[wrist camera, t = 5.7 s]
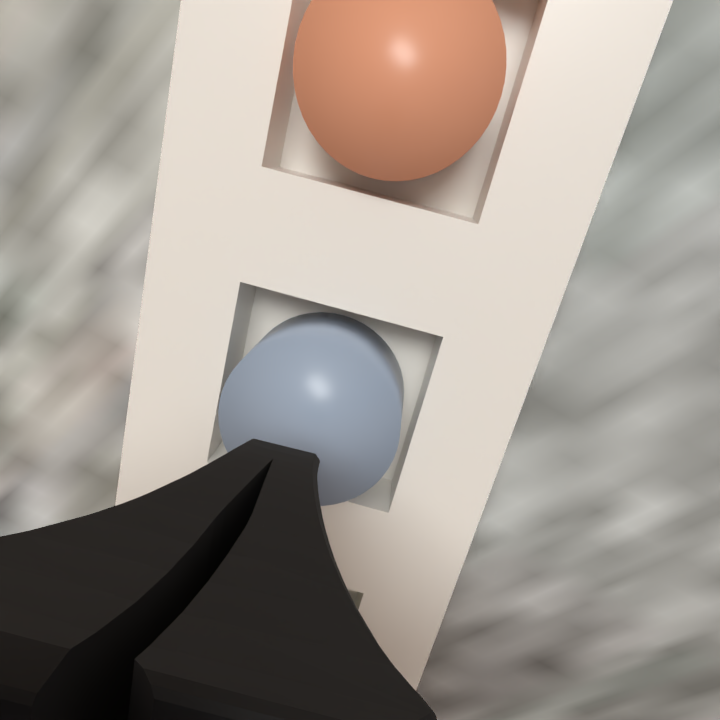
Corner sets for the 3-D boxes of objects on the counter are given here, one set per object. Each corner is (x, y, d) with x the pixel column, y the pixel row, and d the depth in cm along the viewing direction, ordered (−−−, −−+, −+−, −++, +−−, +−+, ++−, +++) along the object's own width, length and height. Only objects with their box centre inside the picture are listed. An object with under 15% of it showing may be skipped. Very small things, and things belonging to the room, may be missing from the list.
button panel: (651, -35, 14) (703, -82, 11) (390, 700, 22) (385, 773, 19) (248, -137, 14) (207, -207, 12) (131, 625, 22) (91, 688, 19)
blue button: (423, 336, 16) (422, 365, 13) (381, 478, 17) (373, 526, 15) (263, 293, 16) (235, 314, 13) (234, 438, 17) (205, 478, 15)
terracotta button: (519, 8, 14) (537, -24, 11) (462, 198, 15) (468, 203, 13) (336, -39, 14) (317, -80, 12) (297, 154, 15) (274, 152, 13)
